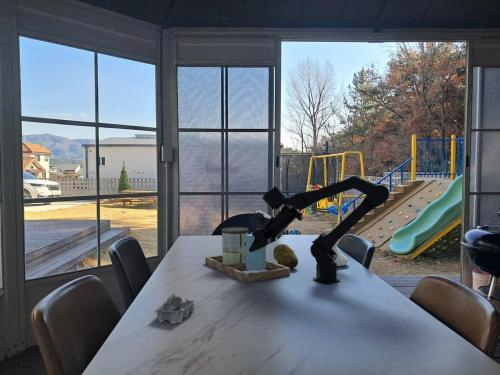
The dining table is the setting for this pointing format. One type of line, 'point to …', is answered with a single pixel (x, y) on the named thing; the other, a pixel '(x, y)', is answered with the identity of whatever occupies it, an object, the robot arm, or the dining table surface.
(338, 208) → the flower in vase
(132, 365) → the dining table surface
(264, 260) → the milk carton
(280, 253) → the potato
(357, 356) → the dining table surface
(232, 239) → the coffee can
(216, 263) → the light wood flat frame
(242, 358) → the dining table surface
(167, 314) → the egg carton
